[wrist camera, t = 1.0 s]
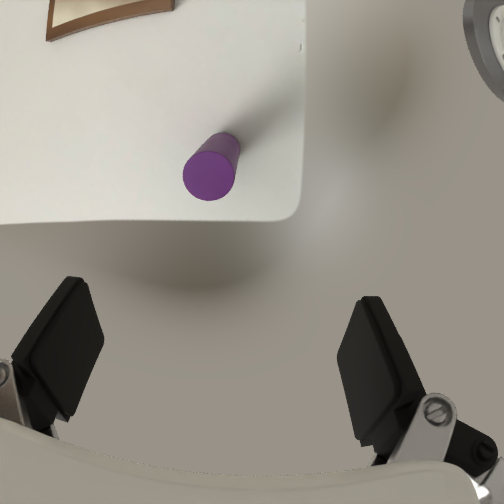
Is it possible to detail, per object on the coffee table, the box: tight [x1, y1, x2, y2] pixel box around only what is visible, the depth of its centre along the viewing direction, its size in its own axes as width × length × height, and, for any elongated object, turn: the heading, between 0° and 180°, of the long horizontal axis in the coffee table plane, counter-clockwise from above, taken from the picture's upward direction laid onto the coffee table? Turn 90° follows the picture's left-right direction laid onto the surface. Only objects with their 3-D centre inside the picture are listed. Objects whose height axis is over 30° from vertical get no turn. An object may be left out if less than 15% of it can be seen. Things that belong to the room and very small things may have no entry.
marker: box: [183, 133, 240, 201], centre depth 22 cm, size 3×3×10 cm
